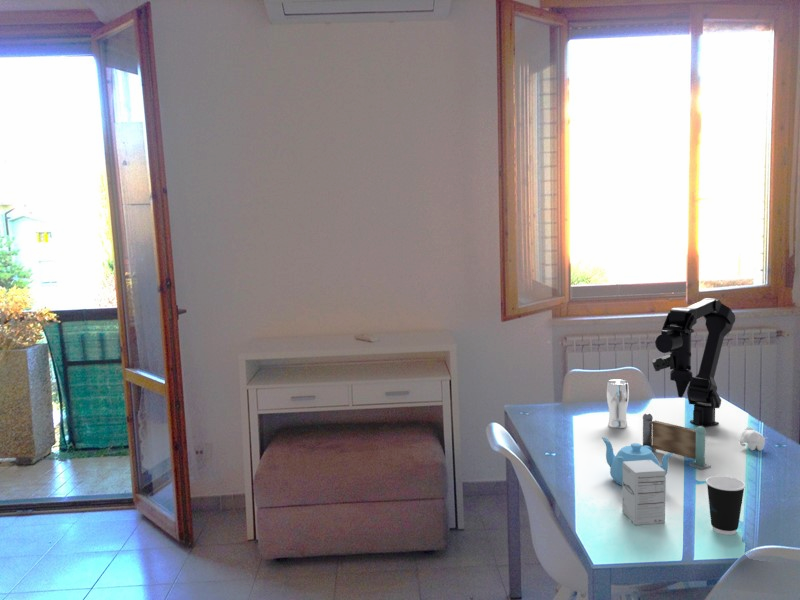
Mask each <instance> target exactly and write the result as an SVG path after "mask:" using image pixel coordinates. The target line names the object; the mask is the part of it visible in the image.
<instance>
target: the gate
mask: <svg viewBox="0 0 800 600" xmlns="http://www.w3.org/2000/svg"><path fill="white" fill-rule="evenodd" d="M695 430H696V429H694V428H689V427H685V426H681V425H677V424H673V423H668V422H664V421H659V420H652V448H654V449H656V450H658V451H663V452H666V453H668V454H669V453H674V454H673V455H677V456H680V457H684V458H688V459H692V460H695V451H696V431H695Z"/></svg>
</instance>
